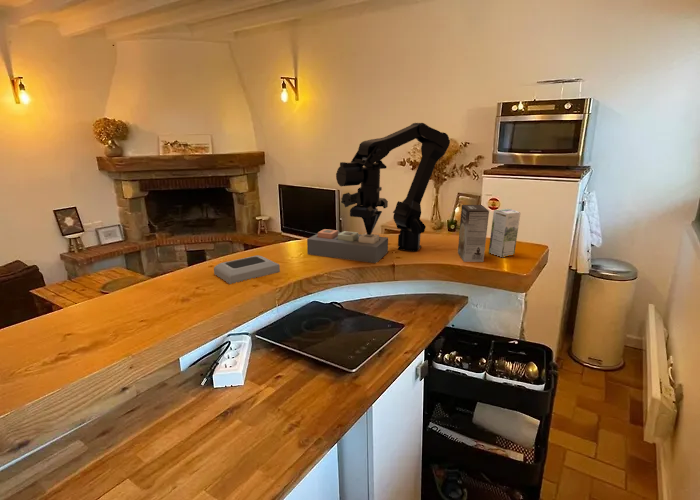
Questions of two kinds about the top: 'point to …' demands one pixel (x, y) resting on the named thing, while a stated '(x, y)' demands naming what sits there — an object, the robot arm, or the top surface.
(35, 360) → the top surface
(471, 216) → the coffee box
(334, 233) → the terracotta key
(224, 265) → the grey flat block
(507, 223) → the syrup box
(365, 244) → the gray keypad housing
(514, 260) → the top surface
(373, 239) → the cream key
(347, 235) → the sage key
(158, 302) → the top surface
